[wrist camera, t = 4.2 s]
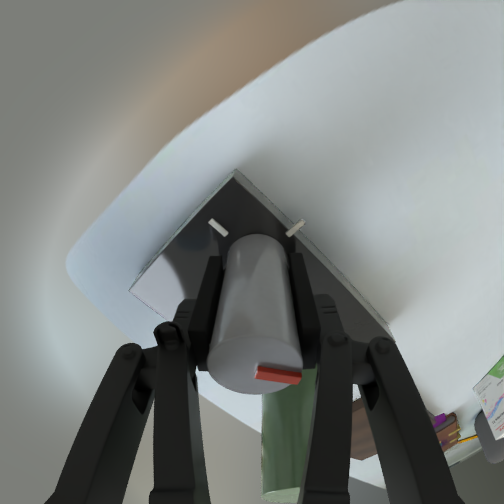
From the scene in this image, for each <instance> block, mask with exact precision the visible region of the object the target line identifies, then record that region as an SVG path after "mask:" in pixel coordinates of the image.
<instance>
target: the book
mask: <svg viewBox="0 0 504 504" xmlns="http://www.w3.org/2000/svg"><path fill="white" fill-rule="evenodd" d="M435 419H436V422H437V423H435V424H434V425H433V427H434V429H435V432H436V434H437V437H438V440H439V442H440V445H441V447H442V450H443V452H444V451H446V450H447V449H449V448H451V447H452V446H454V445H456V444H457V442H458V439H459V438H460V437H461V436H460V434H459V430H461V428H460V426H459V424H458V420H457V416H456V414H454V413H450V414H448V415H447V416H445V414H444V413H443V414H441V415H437V416H435Z"/></svg>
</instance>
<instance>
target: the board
mask: <svg viewBox="0 0 504 504" xmlns="http://www.w3.org/2000/svg"><path fill="white" fill-rule="evenodd" d="M427 412H428V415H429V417H430V420H431V422H432V424H433V425H434V424H435V423H437V422H436V419H435V416H433V415H432V414H431V413H430V412H429V411H428V410H427ZM376 454H378V453H377V449H376V446H375V442H374V438H373V435H372V431H371V428H370V424H369V421H368V418H367V414H366V411H365V407H364V404H363V401H362V398H360V399H358V400H356V401H355V402H353V404H352V437H351V454H350V458H354V459H358V460H364V459H366V458H369V457H371V456H373V455H376Z"/></svg>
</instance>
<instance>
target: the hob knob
mask: <svg viewBox="0 0 504 504" xmlns="http://www.w3.org/2000/svg"><path fill="white" fill-rule="evenodd" d="M206 364H207V369H208V372H209V374H210V375H211V377H212V378H213V379H214V380H215V381H216V382H217V383H218V384H220V385H221V386H223V387H225V388H227V389H229V390H232V391H235V392H238V393H243V394H254V395H256V394H268V393H273V392H276V391H279V390H282V389H284V388H286V387H288V386H289V385H291V384H295V385H298V383H299V382H300V380H301V379H302V373H301V372H302V369H303V356H302V349H301V342H300V335H299V328H298V322H297V315H296V309H295V302H294V296H293V290H292V284H291V278H290V272H289V266H288V260H287V255H286V252H285V250H284V248H283V246H282V245H281V244H280V243H279V242H278V241H277V240H275V239H274V238H272V237H270V236H267V235H263V234H251V235H247V236H244V237H242V238H240V239H238V240H237V241H236V242H234V243H233V245H232V246H231V247H230V249H229V251H228V254H227V258H226V263H225V268H224V272H223V277H222V282H221V287H220V292H219V297H218V302H217V308H216V313H215V318H214V323H213V328H212V334H211V339H210V344H209V350H208V355H207V361H206Z"/></svg>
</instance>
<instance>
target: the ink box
mask: <svg viewBox="0 0 504 504" xmlns="http://www.w3.org/2000/svg"><path fill="white" fill-rule="evenodd" d="M473 390H474V392H475V394H476V396H477V398H478V400H479V402H480V405H481V407H482V409H483V411H484V414H485V416H486V418H487V421H488V423H489V425H490V428H491V430H492V432H493V435H494V437H495V440H498V439H500V438H503V437H504V356H503V357H502V359H501V360H500V361H499V362H498V363H497V364H496V365H495V366H494V367H493V369H492V370H491V371H490V372H489V373H488V374H487V375H486V376H485V377H484V378H483V379H482V380H481V381H480V382H479V383H478V384H477V385H476V386H475V387H474V388H473Z"/></svg>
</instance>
